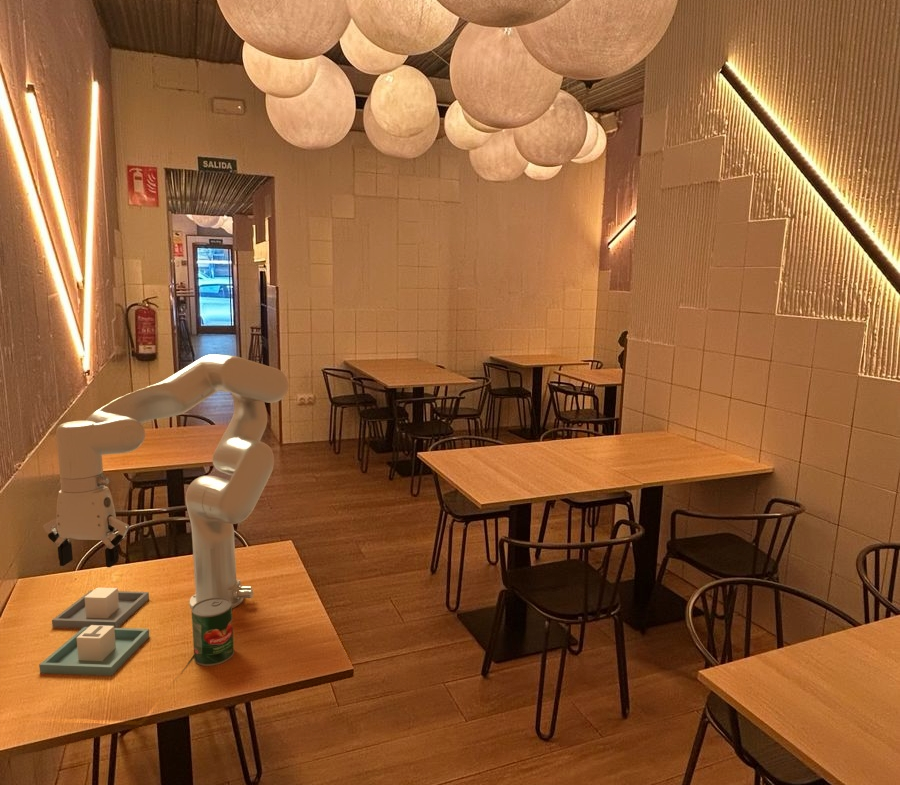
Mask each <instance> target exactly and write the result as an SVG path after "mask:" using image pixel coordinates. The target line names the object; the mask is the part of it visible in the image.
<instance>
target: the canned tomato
mask: <svg viewBox="0 0 900 785" xmlns="http://www.w3.org/2000/svg"><path fill="white" fill-rule="evenodd" d="M231 606H232V603H231V601H230V600H228V599H226V598H219V597H217V598H209V599H205V600H202V601H200V602H198V603H196V604H195V605H194V606H193V607H192V608H191V610H190V611H191V620H192V621H191V623H192V641H193V656H194V657H193V659H194V662H195V664H198V665H199V666H202V667H203V666H204V667H209V666H210V667H212V666H218V665H221V664H223V663H225V662H227V661H229V660H230V659H231V658H232V657H233V656H234V654H235V649H234V647H235V646H234V628H233V610H232V609H233V608H232V607H231Z"/></svg>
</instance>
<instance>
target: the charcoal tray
mask: <svg viewBox="0 0 900 785" xmlns="http://www.w3.org/2000/svg"><path fill="white" fill-rule="evenodd" d="M93 590H94V589H92V590H90V591H88V592H87V593H85V594H84V595H83V596H82V597H80V598H79V599H77V600H76V601H75V602H73V603H72V604H71V605H70V606H68V607H67V608H65V609H64V610H63V611H62V612H61V613H59V614H58V615H56V616H55V617H54V618H53V619H51V623H52V624H51V626H52V629H78V630H81V629H82V628H83V627H89V626H91V625H104V626H114V628H120V626H122V625H123V624H124V623H125V622H126V621H127V620H128V619H129V618H130V617H132V616H133V615H134V613H135V612H137V611H138V610H139V609H141V607H142V606H144V605H145V603H147V601H149V600H150V594H149V591H130V590H129V591H127V590H125V591H124V590H118V598H119V608H118V609H117V610H116V611H115V612H114V613H113V614H111V615H110V616H109V617H108V618H86V609H85V598H84V597H85V596H87V595H88V594H89V593H91V592H92V591H93Z"/></svg>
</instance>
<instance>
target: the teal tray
mask: <svg viewBox="0 0 900 785" xmlns="http://www.w3.org/2000/svg"><path fill="white" fill-rule="evenodd" d="M87 628H88V627H83V628H82V629H79V630H78V631H77V632H76V633H75V634H74V635H73V636H71V637H70V638H69V639H68V640H67V641H66V642H65V643H63V644H62V645H61V646H60V647H58V648H57V649H55V650H54V652H52V653H51V654H50V655H49V656H48V657H47V658H45V659H44V660H42V662H41V663H39V673H40V674H48V675H49V674H50V675H52V674H54V675H73V676H74V675H76V676H77V675H79V676H101V677H102V676H103V677H104V676H105V677H112V676H113V675H114V674H115V673H116V672H117V671H118V670H119V669H120V668H121V667H122V666H123V665H124V664H125V663H126V662H127V661H128V659H129V658H131V656H133V655H134V654H135V653H136V652H137V650H139V648H140V647H141V646H142V645H144V643H145V642H146V641H147V640H148V639H149V638H150V629H149V628H134V627H133V628H131V627H127V628H126V627H125V628H124V627H118V628H114V631H115V643H116V648H115V649H114V650H113V651H112V652H111V653H110V654H109V655H108V656H107V657H106V658H105V659H104V660H103V661H85V660H78V649H77V639H76V638H77V637H78V636H79V635H80V634H81V633H82V632H84V631H85V630H86V629H87Z"/></svg>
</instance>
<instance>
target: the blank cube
mask: <svg viewBox="0 0 900 785" xmlns="http://www.w3.org/2000/svg"><path fill="white" fill-rule="evenodd" d="M92 590H93V591H92V592H91V593H89V594H88V595H87V596H85V597H84V598H85V609H86V618H108V617H109V616H110V615H111V614H113V613H114V612H115V611H116V610H117V609H118V608H119V598H118V591H119V590H118V588H117V587H96V588H95V589H92Z"/></svg>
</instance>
